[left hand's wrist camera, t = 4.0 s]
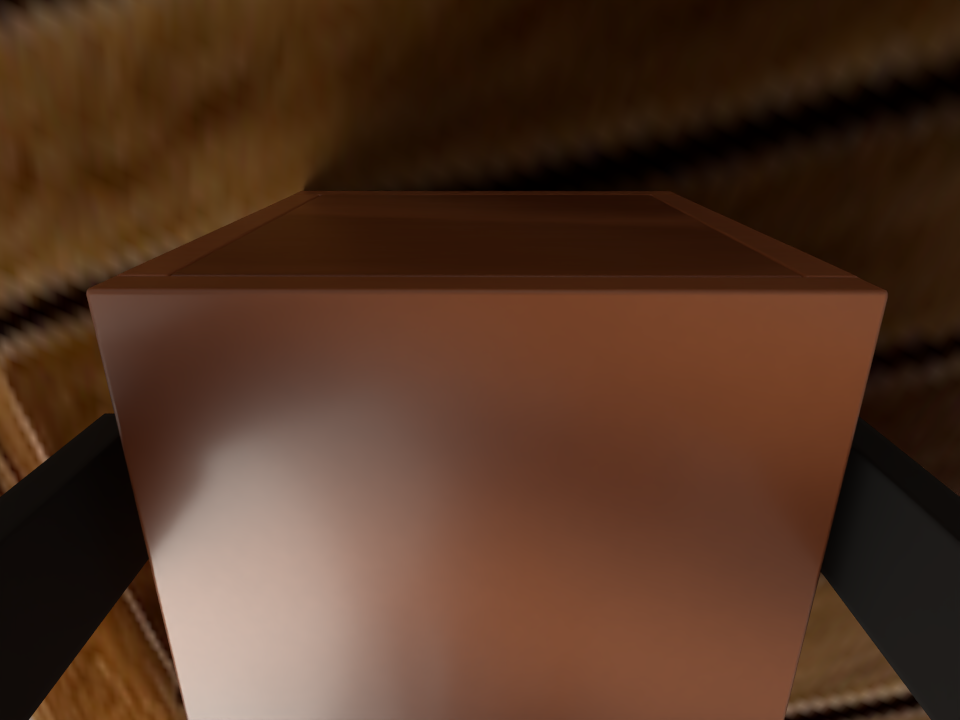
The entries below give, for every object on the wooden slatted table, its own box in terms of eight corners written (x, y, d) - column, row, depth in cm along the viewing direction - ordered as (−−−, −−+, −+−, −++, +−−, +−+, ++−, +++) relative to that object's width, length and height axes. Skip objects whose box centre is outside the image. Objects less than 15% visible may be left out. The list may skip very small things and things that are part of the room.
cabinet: (620, 662, 26) (709, 1030, 16) (348, 661, 26) (257, 1026, 16) (671, 191, 19) (891, 290, 9) (300, 190, 19) (82, 288, 9)
